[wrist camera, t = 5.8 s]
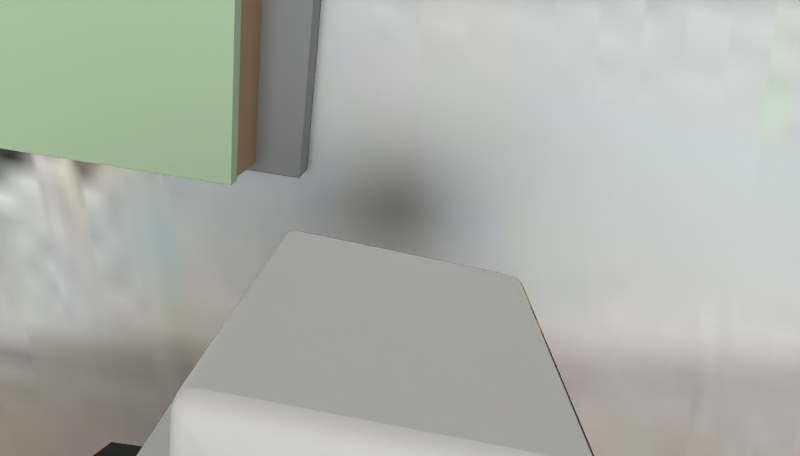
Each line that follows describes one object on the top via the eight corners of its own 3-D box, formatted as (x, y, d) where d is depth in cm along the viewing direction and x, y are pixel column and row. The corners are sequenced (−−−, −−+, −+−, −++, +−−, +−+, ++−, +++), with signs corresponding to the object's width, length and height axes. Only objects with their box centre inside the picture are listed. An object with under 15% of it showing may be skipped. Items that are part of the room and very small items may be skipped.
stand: (39, 125, 28) (-56, 147, 22) (6, -116, 23) (-123, -164, 18) (306, 168, 28) (280, 201, 23) (326, -59, 24) (298, -88, 18)
